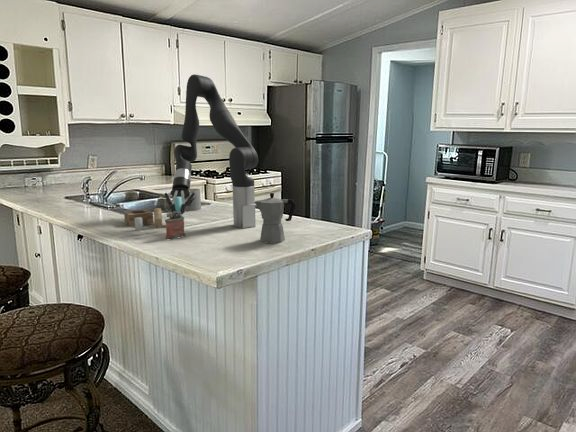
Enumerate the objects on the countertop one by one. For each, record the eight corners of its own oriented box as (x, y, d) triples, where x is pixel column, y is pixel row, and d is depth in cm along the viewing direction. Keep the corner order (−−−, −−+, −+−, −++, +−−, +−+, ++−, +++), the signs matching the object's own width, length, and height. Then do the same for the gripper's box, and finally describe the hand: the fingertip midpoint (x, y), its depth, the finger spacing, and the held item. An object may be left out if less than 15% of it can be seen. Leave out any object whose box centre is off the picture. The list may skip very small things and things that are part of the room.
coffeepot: (253, 243, 157) (252, 195, 153) (255, 237, 166) (254, 190, 162) (296, 243, 156) (296, 194, 153) (295, 237, 166) (295, 190, 162)
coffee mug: (191, 206, 229) (190, 187, 227) (205, 208, 223) (204, 189, 221) (171, 210, 218) (170, 191, 216) (185, 212, 212) (184, 192, 210)
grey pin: (143, 230, 178) (143, 218, 177) (136, 231, 176) (135, 219, 175) (142, 228, 180) (141, 217, 179) (134, 229, 179) (133, 217, 178)
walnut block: (153, 223, 189) (152, 212, 188) (129, 226, 184) (128, 215, 183) (147, 219, 197) (146, 209, 196) (124, 222, 192) (123, 211, 191)
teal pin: (183, 224, 187) (182, 197, 184) (177, 225, 185) (175, 198, 183) (181, 223, 189) (180, 196, 187) (175, 224, 188) (173, 197, 185)
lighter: (181, 234, 170) (180, 209, 168) (187, 235, 168) (185, 210, 166) (164, 238, 164) (162, 213, 162) (169, 240, 162) (167, 214, 160)
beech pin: (163, 227, 182) (162, 209, 180) (156, 228, 180) (154, 209, 179) (161, 226, 184) (159, 207, 183) (154, 227, 183) (152, 208, 181)
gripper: (164, 176, 190) (159, 208, 181) (196, 175, 190) (192, 208, 181) (167, 186, 196) (163, 218, 187) (198, 186, 197) (195, 217, 187)
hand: (177, 213), depth 184 cm, fingers closed on teal pin, 3 cm apart
